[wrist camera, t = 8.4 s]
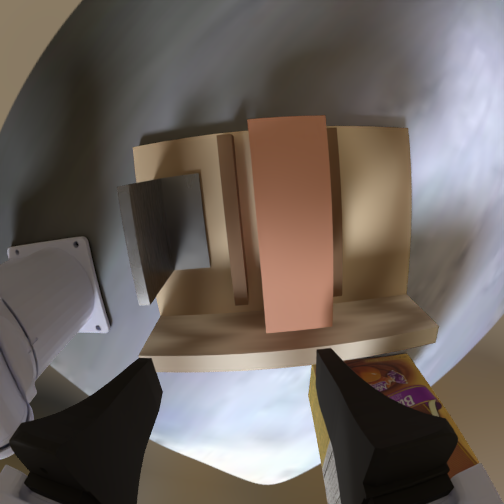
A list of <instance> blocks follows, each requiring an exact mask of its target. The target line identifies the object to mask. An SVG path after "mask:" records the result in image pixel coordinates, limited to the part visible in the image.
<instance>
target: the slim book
mask: <svg viewBox="0 0 504 504" xmlns="http://www.w3.org/2000/svg"><path fill="white" fill-rule="evenodd" d="M247 121H248V132H249V142H250V153H251V164H252V175H253V186H254V197H255V208H256V219H257V230H258V242H259V253H260V265H261V276H262V288H263V300H264V312H265V324H266V333H275V332H287V331H297V330H307V329H316V328H324V327H332V324H333V223H332V198H331V179H330V164H329V151H328V139H327V128H326V118H325V115H320V116H289V117H272V118H258V119H247Z"/></svg>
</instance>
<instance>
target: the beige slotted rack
mask: <svg viewBox="0 0 504 504" xmlns="http://www.w3.org/2000/svg"><path fill="white" fill-rule="evenodd" d="M326 128H327V139H328V151H329V164H330V179H331V198H332V223H333V324H332V327H324V328H316V329H307V330H297V331H287V332H275V333H266V324H265V312H264V300H263V288H262V276H261V265H260V253H259V242H258V230H257V219H256V208H255V197H254V186H253V175H252V164H251V153H250V142H249V132H248V130H247V131H237V132H228V133H219V134H211V135H203V136H196V137H189V138H182V139H176V140H170V141H164V142H158V143H153V144H147V145H142V146H137V147H133V155H134V165H135V173H136V182H137V183H138V182H143V181H148V180H153V179H159V178H166V177H173V176H180V175H187V174H195V173H199V174H200V183H201V192H202V201H203V209H204V218H205V226H206V234H207V242H208V249H209V257H210V264H211V267H210V268H197V269H184V270H174V272H173V273H172V274H171V276H170V277H169V279H168V280H167V281H166V283H165V284H164V286H163V287H162V289H161V290H160V291H159V293H158V294H157V296H156V298H157V303H158V307H159V311H160V318H159V320H158V322H157V323H156V325H155V327H154V329H153V331H152V332H151V334H150V336H149V338H148V339H147V341H146V343H145V345H144V347H143V348H142V350H141V352H140V354H139V358H152V361H153V364H154V367H155V370H156V372H226V371H247V370H262V369H275V368H286V367H296V366H305V365H314V364H316V350H317V349H325V348H331V349H333V350H334V352H335V353H336V354H337V355H338V356H339V357H340V358H341V359H342V360H343V361H344V360H350V359H357V358H363V357H369V356H374V355H380V354H385V353H390V352H395V351H400V350H405V349H410V348H414V347H419V346H423V345H427V344H432V343H435V342H436V338H437V333H438V328H439V326H438V325H437V324H436V323H435V322H434V321H433V320H432V319H431V318H430V317H429V316H428V315H427V314H426V313H425V312H424V311H423V310H422V309H421V308H420V307H419V306H418V305H417V304H416V303H415V302H414V301H413V300H412V299H411V298H410V297H409V296H408V295H407V294H406V293H407V283H408V272H409V259H410V242H411V162H410V145H409V133H408V128H396V127H371V126H326Z"/></svg>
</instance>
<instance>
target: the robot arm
mask: <svg viewBox="0 0 504 504" xmlns="http://www.w3.org/2000/svg"><path fill="white" fill-rule="evenodd" d="M76 241H77V242H78V244H79V246H77V245H76ZM18 251H19V252H18ZM7 253H8V257H9V260H8V261H6V262H4V263H2V264H0V459H4V458H6V457H9V456H11V455H12V454H14V453H15V454H16V456H17V457H18V458H19V459H20V460H21V462H22V463H23V464H24V465H25V466H26V467H27V469H29V471H30V473H29V475H28V476H27V475H25V474H24V473H22V472H21V471H19V470H17V469H15V468H13V467H11V466H8V465H5V467H4V468H3V470H2V471H1V473H0V504H137V495H138V486H139V479H140V473H141V467H142V462H143V457H144V453H145V449H146V446H147V443H148V440H149V437H150V435H151V432H152V429H153V426H154V423H155V420H156V418H157V415H158V412H159V408H160V403H161V398H162V393H163V391H162V388H161V385H160V382H159V379H158V376H157V373H156V370H155V367H154V364H153V361H152V358H139V359H137V360H136V361H135V362H133V363H132V364H131V365H130V366H128V367H127V368H126V369H125V370H124V371H122V372H121V373H120V374H119V375H118V376H116V377H115V378H114V379H113V380H111V381H110V382H109V383H108V384H106V385H105V386H104V387H102V388H101V389H99V390H98V391H97V392H95V393H94V394H92V395H91V396H89V397H88V398H86V399H84V400H83V401H81V402H79V403H77V404H75V405H73V406H71V407H69V408H67V409H65V410H63V411H61V412H58V413H56V414H53V415H50V416H47V417H44V418H41V419H37V420H34V416H33V412H32V409H31V407H30V405H29V403H30V402H31V400H32V399H33V398H34V396H35V395H36V394H37V391H36V389H35V384H34V383H35V380H36V379H37V378H38V377H39V376H40V375H41V373H42V372H43V371H44V370H45V369H46V368H47V366H48V365H49V364H50V363H51V362H52V361H53V359H54V358H55V357H56V356H57V355H58V354H59V353H60V351H61V350H62V349H63V348H64V347H65V346H66V345H67V344H68V342H69V341H70V340H71V339H72V338H73V337H74V336H75V335H76V334H77V333H78V332H85V333H107V332H108V331H109V330H110V324H109V321H108V318H107V314H106V311H105V307H104V304H103V300H102V297H101V293H100V289H99V285H98V281H97V277H96V273H95V269H94V265H93V260H92V256H91V251H90V247H89V242H88V239H87V238H86V237H84V236H80V237H73V238H65V239H59V240H52V241H45V242H38V243H32V244H26V245H19V246H13V247H10V248H8V251H7ZM98 325H99V326H100V327H101V328H99V327H98ZM315 385H316V391H317V397H318V402H319V406H320V409H321V413H322V416H323V419H324V422H325V425H326V429H327V432H328V435H329V438H330V441H331V445H332V449H333V454H334V459H335V465H336V471H337V478H338V484H339V492H340V500H341V504H503V502H502V500H501V498H500V496H499V494H498V492H497V490H496V488H495V487H494V485H493V483H492V481H491V480H490V478H489V476H488V474H487V472H486V470H485V469H484V467H483V465H482V464H481V463H478V464H476V465H474V466H472V467H470V468H468V469H466V470H464V471H462V472H460V473H458V474H456V475H455V476H453V477H452V478H451V479H450V478H449V475H448V472H449V471H450V468H449V466H448V464H447V461H448V460H449V458H450V456H451V455H452V453H453V451H454V450H455V448H456V445H457V443H458V436H457V435H456V433H455V431H454V429H453V428H452V426H451V425H450V423H449V422H448V421H447V419H446V418H442V417H438V416H434V415H430V414H426V413H423V412H420V411H418V410H415V409H412V408H410V407H407V406H405V405H403V404H401V403H399V402H397V401H395V400H393V399H391V398H389V397H387V396H386V395H384V394H383V393H381V392H379V391H378V390H376V389H375V388H374V387H372V386H371V385H370V384H368V383H367V382H366V381H364V380H363V379H362V378H361V377H360V376H359V375H357V374H356V373H355V372H354V371H353V370H352V369H351V368H350V367H349V366H348V365H347V364H346V363H345V362H344V361H343V360H342V359H341V358H340V357H339V356H338V355H337V354H336V353H335V352H334V350H333V349H331V348H325V349H317V350H316V384H315Z"/></svg>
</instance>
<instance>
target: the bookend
mask: <svg viewBox="0 0 504 504" xmlns="http://www.w3.org/2000/svg"><path fill="white" fill-rule="evenodd" d="M117 190H118V197H119V204H120V211H121V217H122V223H123V229H124V235H125V241H126V246H127V251H128V256H129V261H130V266H131V271H132V275H133V280H134V284H135V289H136V293H137V297H138V301H139V305H151V303H152V302H153V300H154V299H155V297H156V296H157V294H158V293H159V291H160V290H161V289H162V287H163V286H164V284H165V283H166V281H167V280H168V279H169V277H170V276H171V274H172V273H173V272H174V270H184V269H197V268H210V267H211V264H210V257H209V249H208V242H207V234H206V226H205V218H204V209H203V201H202V192H201V183H200V174H199V173H195V174H187V175H180V176H173V177H166V178H159V179H153V180H148V181H143V182H138V183H133V184H128V185H123V186H119V187H117Z"/></svg>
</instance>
